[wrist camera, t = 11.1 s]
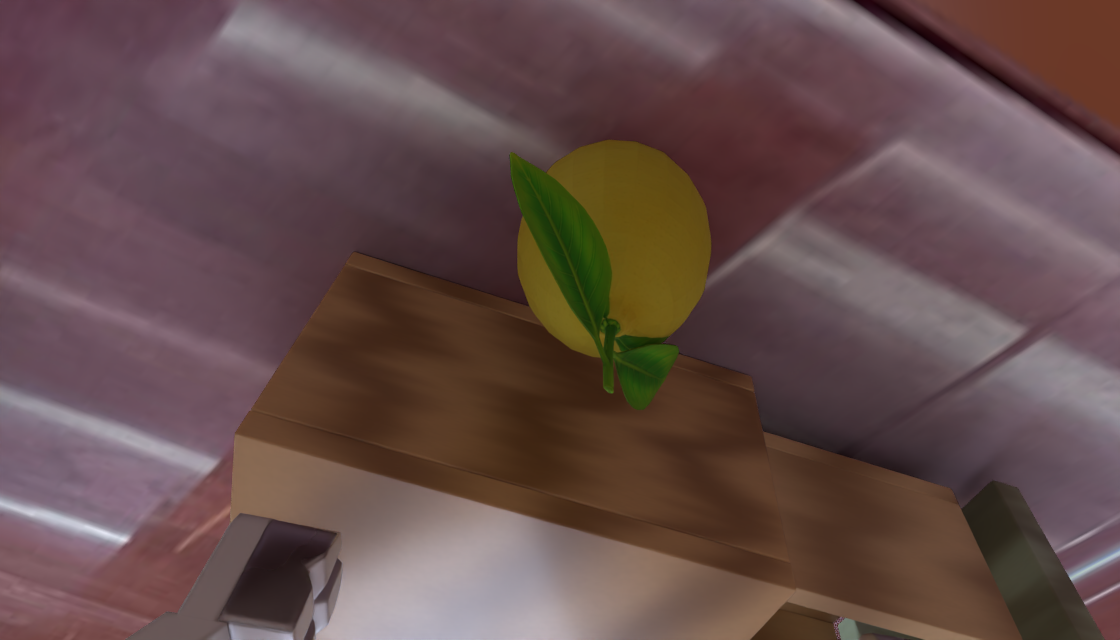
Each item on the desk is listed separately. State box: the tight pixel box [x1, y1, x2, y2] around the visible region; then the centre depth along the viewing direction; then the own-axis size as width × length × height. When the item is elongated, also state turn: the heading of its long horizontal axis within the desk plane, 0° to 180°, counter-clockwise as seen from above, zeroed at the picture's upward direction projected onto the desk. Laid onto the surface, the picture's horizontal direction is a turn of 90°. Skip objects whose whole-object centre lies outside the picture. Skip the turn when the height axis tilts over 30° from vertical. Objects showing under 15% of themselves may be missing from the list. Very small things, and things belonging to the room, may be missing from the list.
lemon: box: [509, 140, 711, 410], centre depth 19 cm, size 7×6×10 cm
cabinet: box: [230, 252, 796, 640], centre depth 26 cm, size 16×13×9 cm
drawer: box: [750, 431, 1105, 640], centre depth 28 cm, size 20×12×7 cm, turn 72°
